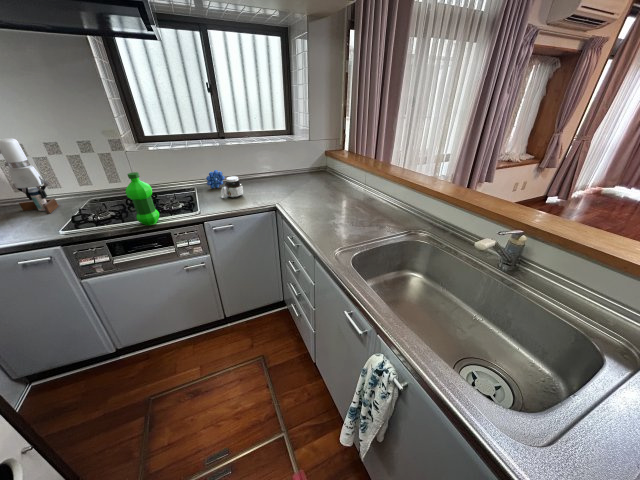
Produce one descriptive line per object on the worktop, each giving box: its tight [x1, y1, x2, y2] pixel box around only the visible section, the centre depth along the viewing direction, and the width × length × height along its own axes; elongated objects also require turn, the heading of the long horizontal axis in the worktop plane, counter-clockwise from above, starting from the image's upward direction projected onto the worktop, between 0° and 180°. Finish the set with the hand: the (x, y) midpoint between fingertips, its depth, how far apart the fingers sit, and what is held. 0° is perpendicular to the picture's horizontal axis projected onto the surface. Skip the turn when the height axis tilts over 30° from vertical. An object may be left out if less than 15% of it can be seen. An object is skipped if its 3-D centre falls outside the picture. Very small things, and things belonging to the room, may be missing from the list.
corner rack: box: [18, 198, 59, 215], centre depth 143 cm, size 15×12×4 cm
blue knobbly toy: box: [205, 169, 225, 189], centre depth 176 cm, size 12×7×12 cm, turn 116°
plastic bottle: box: [125, 171, 160, 226], centre depth 126 cm, size 10×10×25 cm
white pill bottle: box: [28, 187, 47, 212], centre depth 144 cm, size 5×5×12 cm
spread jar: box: [220, 175, 244, 199], centre depth 161 cm, size 12×11×12 cm
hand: (38, 198), depth 143 cm, fingers closed on white pill bottle, 4 cm apart
